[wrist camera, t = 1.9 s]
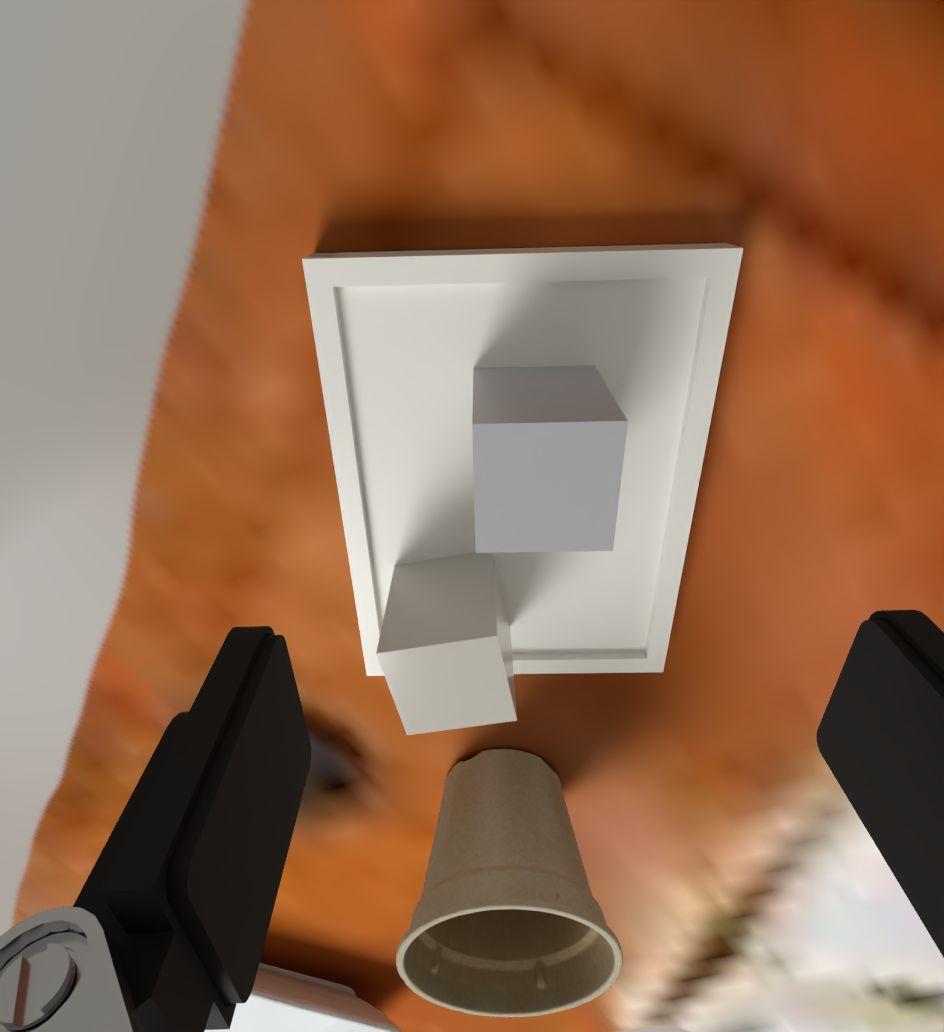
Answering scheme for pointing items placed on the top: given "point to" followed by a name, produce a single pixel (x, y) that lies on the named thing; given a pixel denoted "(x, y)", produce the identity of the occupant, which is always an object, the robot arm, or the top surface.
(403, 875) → the top surface
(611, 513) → the grey block
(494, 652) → the beige block
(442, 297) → the white dish
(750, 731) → the top surface
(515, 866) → the flower pot
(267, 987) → the tray
